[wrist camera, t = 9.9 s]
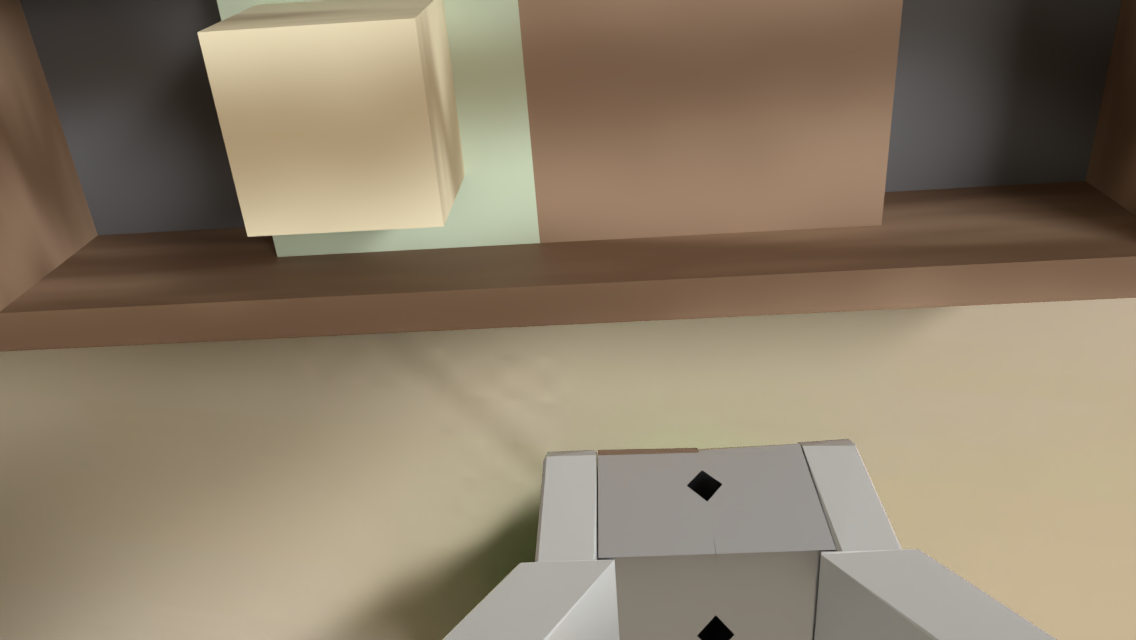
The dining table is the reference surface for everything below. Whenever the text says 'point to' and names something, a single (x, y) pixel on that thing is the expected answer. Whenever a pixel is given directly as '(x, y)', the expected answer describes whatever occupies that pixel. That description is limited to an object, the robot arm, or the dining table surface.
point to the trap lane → (588, 170)
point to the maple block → (337, 114)
